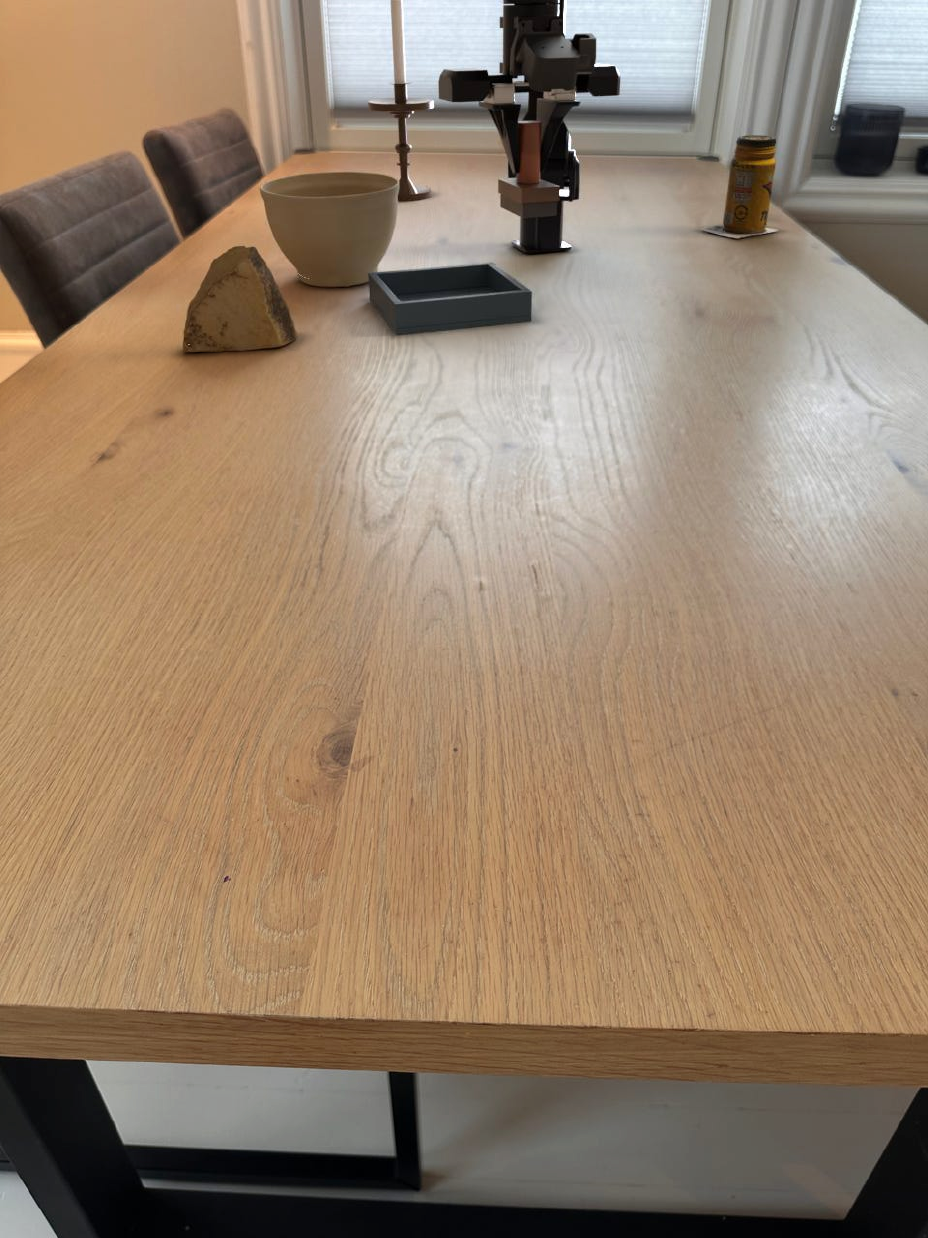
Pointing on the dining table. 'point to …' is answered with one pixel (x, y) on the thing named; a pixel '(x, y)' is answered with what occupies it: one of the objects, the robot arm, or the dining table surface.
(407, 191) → the candlestick
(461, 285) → the tray
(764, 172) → the condiment
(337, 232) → the planter bowl
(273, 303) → the rock
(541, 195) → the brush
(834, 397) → the dining table surface
